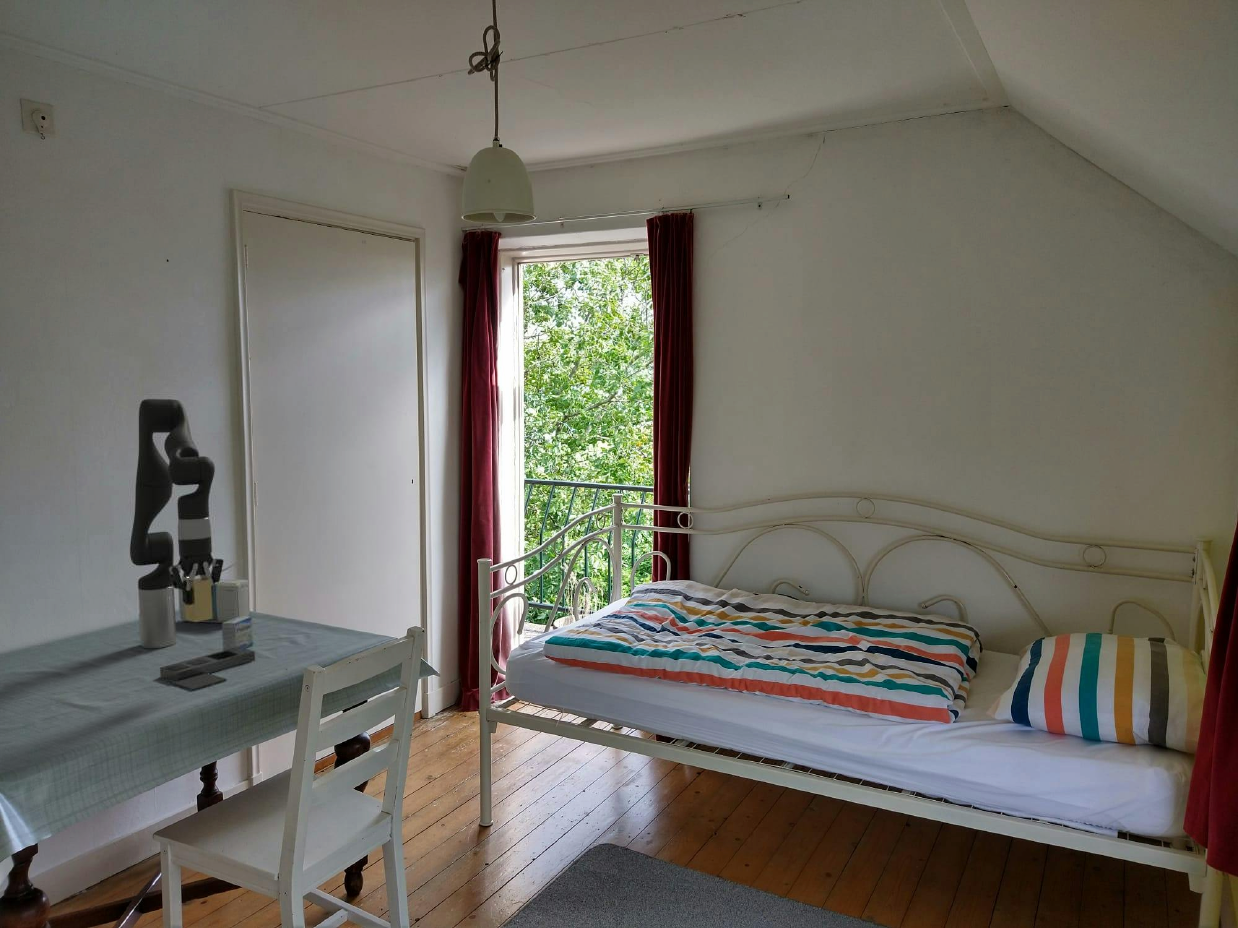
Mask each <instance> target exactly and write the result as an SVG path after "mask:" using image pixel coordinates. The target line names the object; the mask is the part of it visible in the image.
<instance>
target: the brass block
mask: <svg viewBox="0 0 1238 928" xmlns="http://www.w3.org/2000/svg"><path fill="white" fill-rule="evenodd" d="M196 578H197V577H196ZM190 590H192V605H186V604H185V618H186V620H188V622H194V623H198V622H199V621H203V620H207V619H212V618H213V616H212V595H211V580H210V579H205V578H203V579H202V578H201V577H198V578H197V579H194V581H193V582H191V589H190ZM199 623H200V622H199Z"/></svg>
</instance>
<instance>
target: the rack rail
mask: <svg viewBox="0 0 1238 928" xmlns="http://www.w3.org/2000/svg"><path fill="white" fill-rule="evenodd" d="M255 653H256V652H255V650H250V649H248V648H246V649H244V648H240V647H235V648H231V649H228V650H224V651H223V650H220V651H218V652H214V653H210V654H206V655H202V656H199V657H195V658H190V659H188V660H183V661H180V662H175V663H173V664H169V665H165V666H162V667H160V668H159V669H160V670H159V671H160V672H159V673H160V674H159V675H160V676H159V677H160V678H162V679H166V680H169V681H171V680H172V682H174V681H175V682H177V681H180V680H184V679H187V678H191V677H194V676H198V675H201V674H204V673H209V674H211V673H216V672H218V671H222V670H226V669H229V668H232V667H236V666H240V665H242V664H241V663H243V664H247V663H250V662H253V661H252V660H254V661H255V660H256V654H255ZM246 662H247V663H246ZM225 668H226V669H225ZM215 671H216V672H215Z"/></svg>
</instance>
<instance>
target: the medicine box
mask: <svg viewBox="0 0 1238 928" xmlns="http://www.w3.org/2000/svg"><path fill="white" fill-rule="evenodd" d="M221 633H222V651H224V650H228V649H231V648H235V647H240V648H244V649H248V648H250V647H252V646H254V639H253V637H254V636H253V617H251V616H249V617H248V616H240V617H237V618H234V619H232V620H229V621H227V622H224V623H221ZM251 645H252V646H251ZM247 647H248V648H247Z"/></svg>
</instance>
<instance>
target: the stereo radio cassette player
mask: <svg viewBox="0 0 1238 928" xmlns="http://www.w3.org/2000/svg"><path fill="white" fill-rule="evenodd" d="M243 561H244V559H241V560H239V561H237V562H236V563H234V564H232V565H229V566H228V567H225V568H223V569H222V571H221V573H222V572H225V571H226V570H228V569H230V568H233V566H235V565H237V564H239V563H241V562H243ZM194 579H197V577H196V578H194ZM212 590H213V597H212V616H213V618H212V619H207V620H203V621H199V623H221V624H222V623H224V622H227V621H229V620H232V619H234V618H237V617H240V616H248V617H250V609H249V608H250V607H249V580H248V579H226V578H220V581H219V582H216V583H214V584H213V586H212ZM177 591H178V610H179V618H180V620H183V621H184V622H186V621H188V620H186V618H185V603H184V602H183V595H182V590H181V589H177ZM188 622H189V621H188Z"/></svg>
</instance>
